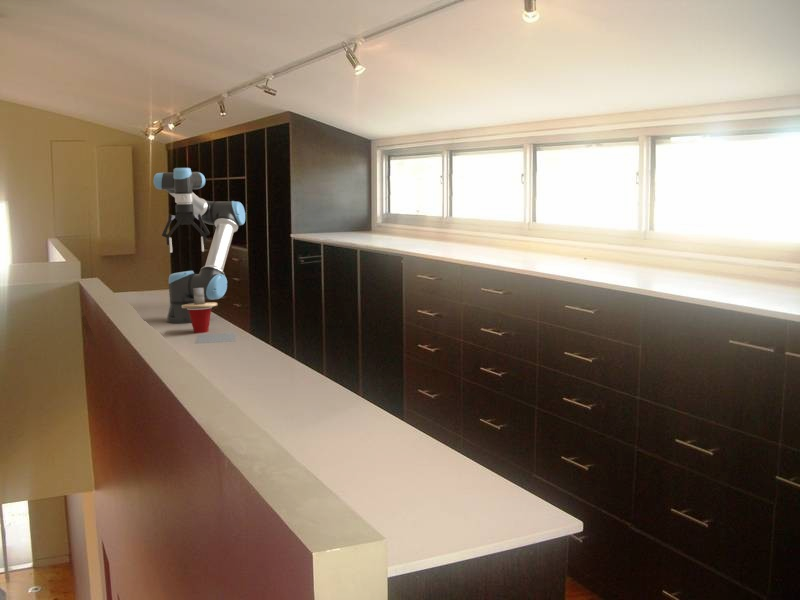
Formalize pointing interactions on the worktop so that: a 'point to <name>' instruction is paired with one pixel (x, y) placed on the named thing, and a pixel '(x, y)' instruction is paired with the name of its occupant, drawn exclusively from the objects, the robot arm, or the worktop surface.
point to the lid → (199, 300)
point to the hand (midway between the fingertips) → (187, 251)
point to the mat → (216, 338)
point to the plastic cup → (200, 319)
